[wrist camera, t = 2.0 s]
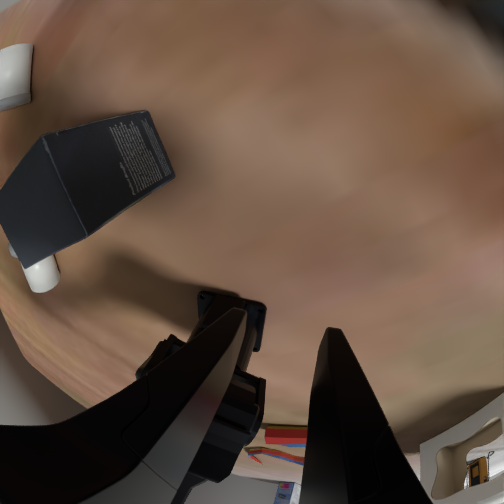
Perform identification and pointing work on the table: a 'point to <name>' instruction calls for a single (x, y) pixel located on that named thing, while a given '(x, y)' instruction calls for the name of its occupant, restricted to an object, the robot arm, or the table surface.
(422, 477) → the gable box
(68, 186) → the small box
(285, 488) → the ink cartridge box
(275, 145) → the table surface
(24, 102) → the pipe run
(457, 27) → the table surface
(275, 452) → the toy snake
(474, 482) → the multimeter
